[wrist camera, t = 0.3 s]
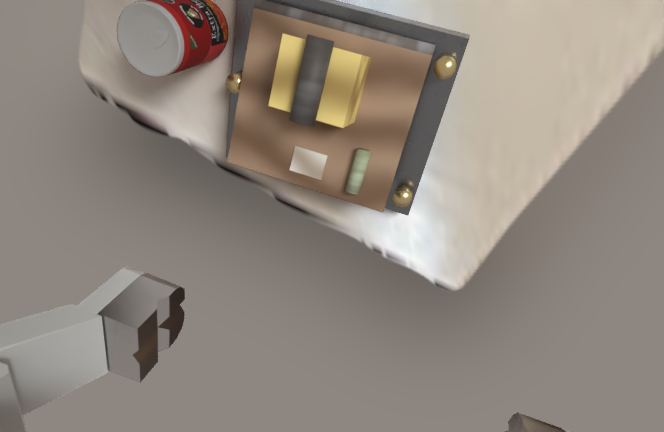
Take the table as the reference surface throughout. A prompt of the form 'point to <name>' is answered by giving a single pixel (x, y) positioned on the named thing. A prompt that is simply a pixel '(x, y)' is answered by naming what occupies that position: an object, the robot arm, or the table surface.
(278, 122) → the level plate
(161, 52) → the canned food
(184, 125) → the table surface
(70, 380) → the robot arm
